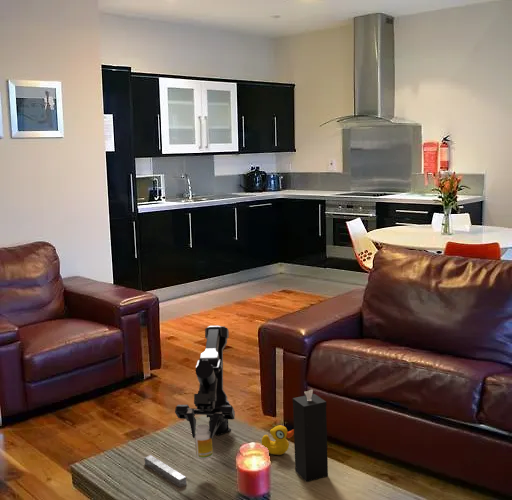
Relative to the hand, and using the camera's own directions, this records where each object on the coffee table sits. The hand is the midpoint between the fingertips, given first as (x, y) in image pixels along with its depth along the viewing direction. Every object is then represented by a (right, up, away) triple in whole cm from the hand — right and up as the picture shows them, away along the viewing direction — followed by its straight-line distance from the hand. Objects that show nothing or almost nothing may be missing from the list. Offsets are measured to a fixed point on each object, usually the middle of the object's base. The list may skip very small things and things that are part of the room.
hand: (202, 437), depth 200 cm
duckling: (+25, -10, +16) cm, 31 cm away
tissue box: (+35, -12, +1) cm, 37 cm away
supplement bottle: (+1, -7, +2) cm, 7 cm away
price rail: (-13, -13, +5) cm, 19 cm away
